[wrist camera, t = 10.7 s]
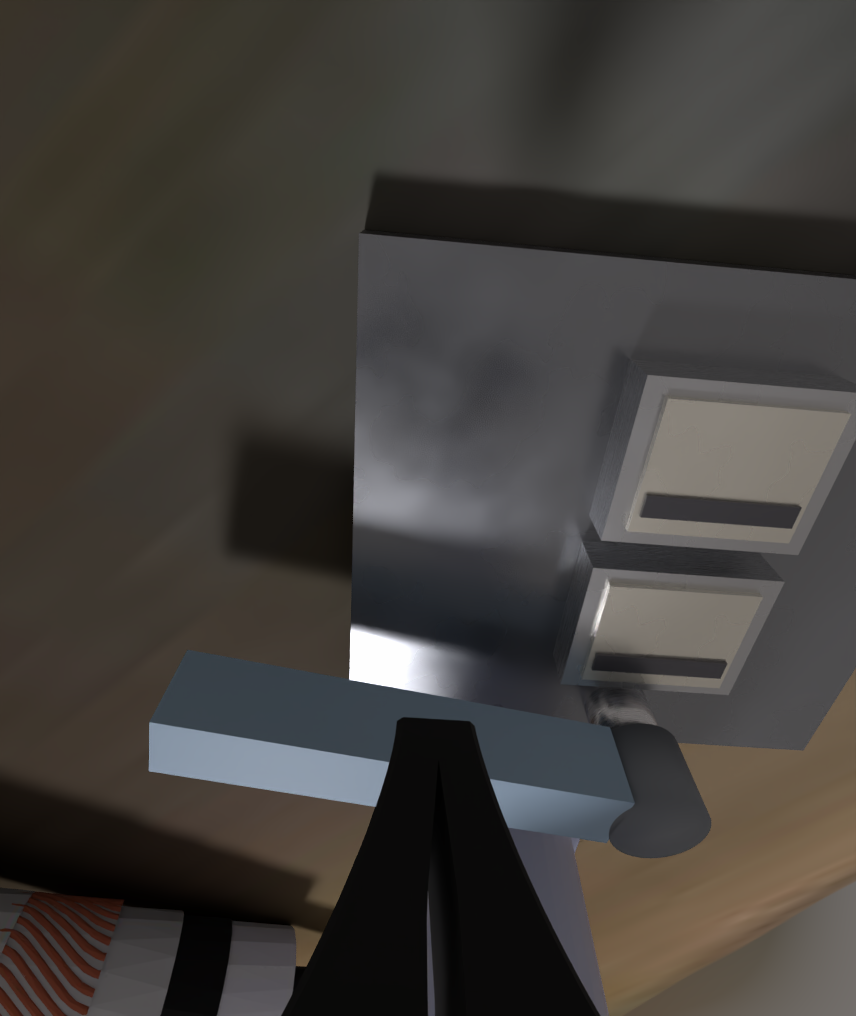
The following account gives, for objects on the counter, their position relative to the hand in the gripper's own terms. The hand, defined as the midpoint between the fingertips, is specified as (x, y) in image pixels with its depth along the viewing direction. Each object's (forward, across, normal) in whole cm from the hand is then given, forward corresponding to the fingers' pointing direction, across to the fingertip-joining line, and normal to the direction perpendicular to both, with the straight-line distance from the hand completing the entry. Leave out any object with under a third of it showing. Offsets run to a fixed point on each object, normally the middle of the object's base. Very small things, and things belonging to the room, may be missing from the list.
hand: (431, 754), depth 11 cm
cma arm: (+6, -1, +7) cm, 9 cm away
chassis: (+10, -7, +1) cm, 12 cm away
